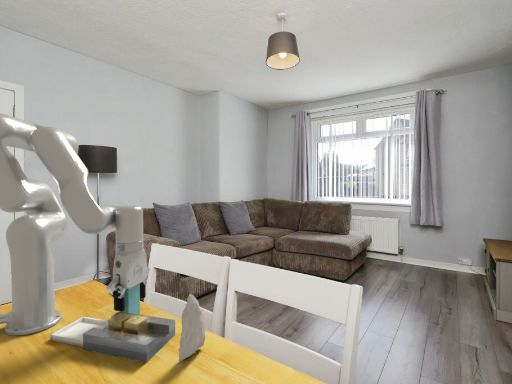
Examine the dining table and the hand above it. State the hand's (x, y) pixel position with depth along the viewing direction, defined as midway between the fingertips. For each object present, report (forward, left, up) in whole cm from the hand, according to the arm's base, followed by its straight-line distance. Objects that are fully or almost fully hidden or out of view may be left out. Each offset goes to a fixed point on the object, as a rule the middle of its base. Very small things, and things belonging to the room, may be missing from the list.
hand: (130, 303), depth 83 cm
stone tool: (+13, -26, -5) cm, 29 cm away
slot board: (0, -14, -4) cm, 14 cm away
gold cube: (+1, -15, -2) cm, 15 cm away
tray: (-12, -4, -4) cm, 13 cm away
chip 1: (-3, -12, -2) cm, 12 cm away
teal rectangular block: (0, 0, -4) cm, 4 cm away
